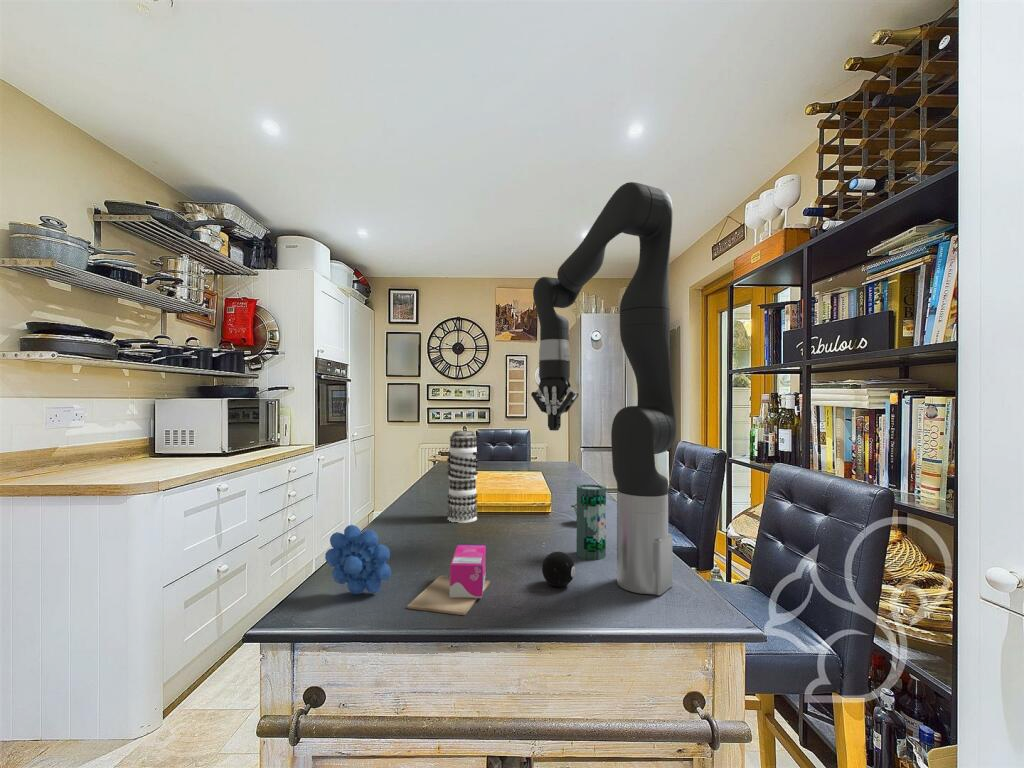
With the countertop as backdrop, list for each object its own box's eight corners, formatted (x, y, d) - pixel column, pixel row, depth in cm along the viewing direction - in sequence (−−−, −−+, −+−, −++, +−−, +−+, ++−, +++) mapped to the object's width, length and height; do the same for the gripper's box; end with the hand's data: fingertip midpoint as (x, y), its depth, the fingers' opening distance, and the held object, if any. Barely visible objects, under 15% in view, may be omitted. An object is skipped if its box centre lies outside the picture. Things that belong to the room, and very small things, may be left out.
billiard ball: (549, 577, 93) (549, 545, 93) (579, 582, 90) (579, 550, 91) (536, 587, 88) (537, 554, 88) (567, 594, 85) (567, 559, 85)
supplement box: (486, 574, 93) (482, 599, 82) (456, 573, 93) (447, 598, 82) (487, 544, 93) (482, 565, 82) (456, 543, 93) (447, 564, 82)
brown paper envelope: (440, 577, 92) (440, 575, 92) (490, 582, 90) (490, 580, 90) (406, 608, 79) (407, 605, 79) (464, 615, 76) (464, 612, 76)
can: (592, 561, 102) (592, 490, 103) (571, 554, 107) (571, 486, 107) (610, 555, 106) (610, 487, 106) (589, 549, 111) (589, 483, 111)
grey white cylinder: (466, 513, 144) (467, 429, 144) (484, 519, 137) (485, 431, 137) (439, 518, 138) (441, 431, 139) (458, 525, 131) (459, 432, 132)
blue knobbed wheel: (314, 604, 80) (315, 531, 80) (330, 588, 87) (331, 521, 87) (383, 605, 80) (385, 532, 80) (394, 589, 87) (395, 521, 87)
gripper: (523, 359, 119) (523, 429, 118) (569, 356, 111) (569, 432, 110) (541, 361, 125) (541, 428, 124) (585, 359, 117) (585, 430, 116)
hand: (554, 430), depth 117 cm, fingers closed
